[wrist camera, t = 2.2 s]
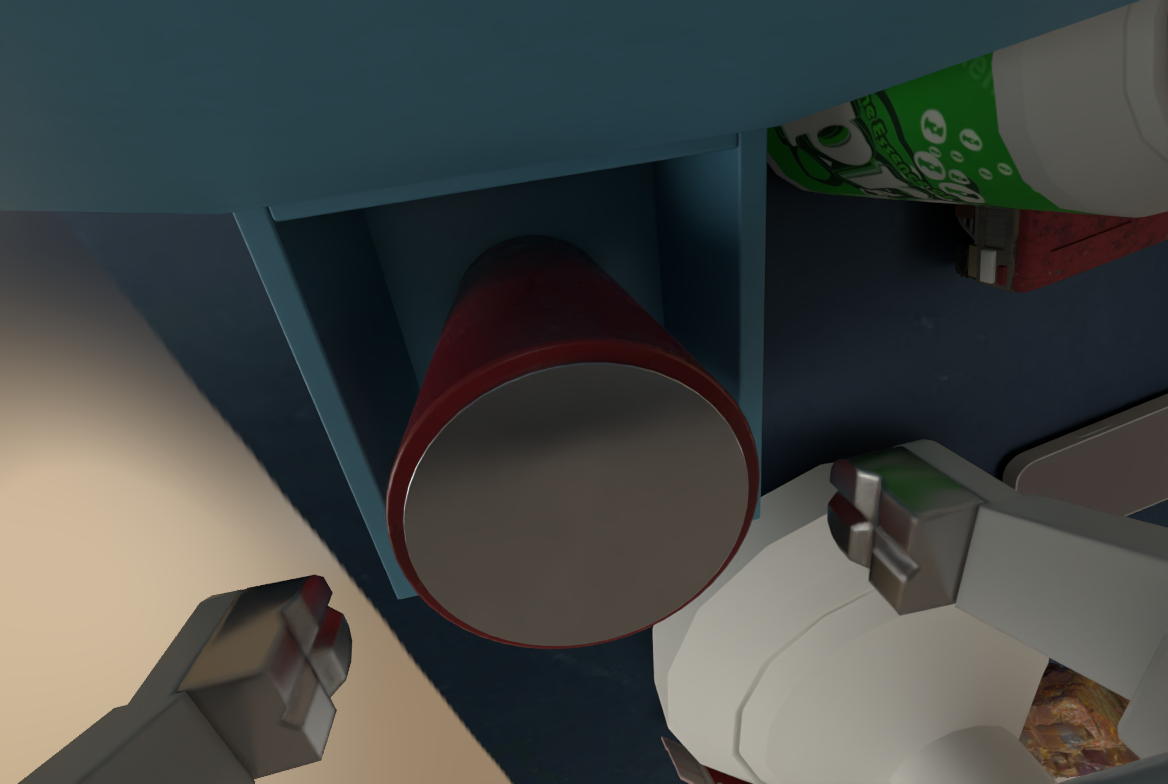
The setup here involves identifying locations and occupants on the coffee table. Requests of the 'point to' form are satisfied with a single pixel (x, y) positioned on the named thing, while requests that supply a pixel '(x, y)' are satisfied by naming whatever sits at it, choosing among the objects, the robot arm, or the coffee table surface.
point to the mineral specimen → (1075, 725)
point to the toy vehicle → (1045, 244)
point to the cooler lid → (430, 86)
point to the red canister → (565, 459)
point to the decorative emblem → (696, 767)
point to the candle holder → (838, 669)
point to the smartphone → (1102, 462)
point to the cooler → (481, 220)
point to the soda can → (1007, 127)
